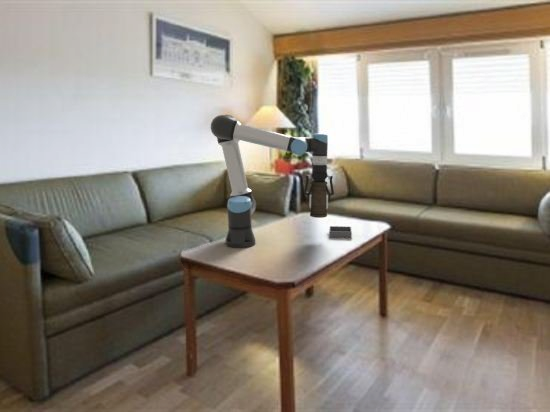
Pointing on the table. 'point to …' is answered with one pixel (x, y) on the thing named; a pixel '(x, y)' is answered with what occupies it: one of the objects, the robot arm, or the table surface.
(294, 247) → the table surface
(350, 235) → the tray
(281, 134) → the robot arm
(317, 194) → the container
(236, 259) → the table surface
